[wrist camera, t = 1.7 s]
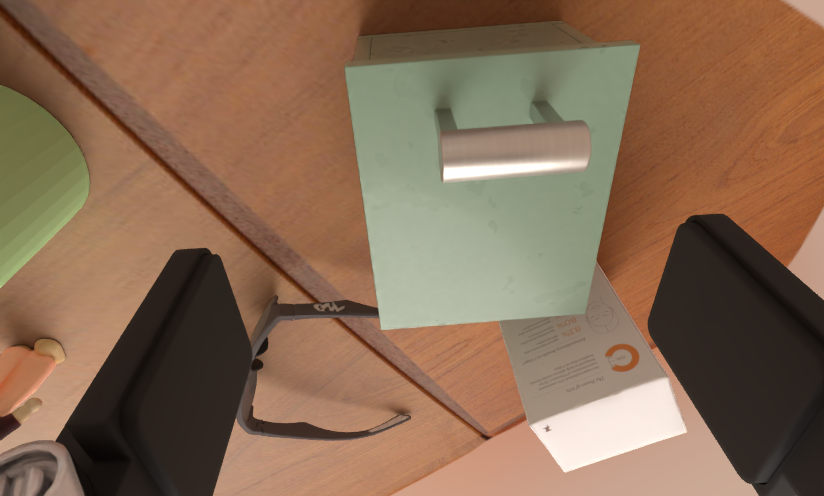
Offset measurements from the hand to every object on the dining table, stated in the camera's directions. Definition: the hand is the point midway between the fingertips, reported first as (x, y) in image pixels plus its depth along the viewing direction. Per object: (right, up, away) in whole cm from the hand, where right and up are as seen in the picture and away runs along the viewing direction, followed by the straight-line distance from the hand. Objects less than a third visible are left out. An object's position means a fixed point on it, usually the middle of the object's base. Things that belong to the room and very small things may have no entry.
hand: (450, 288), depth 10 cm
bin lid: (+3, +3, +13) cm, 14 cm away
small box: (+10, -2, +28) cm, 30 cm away
